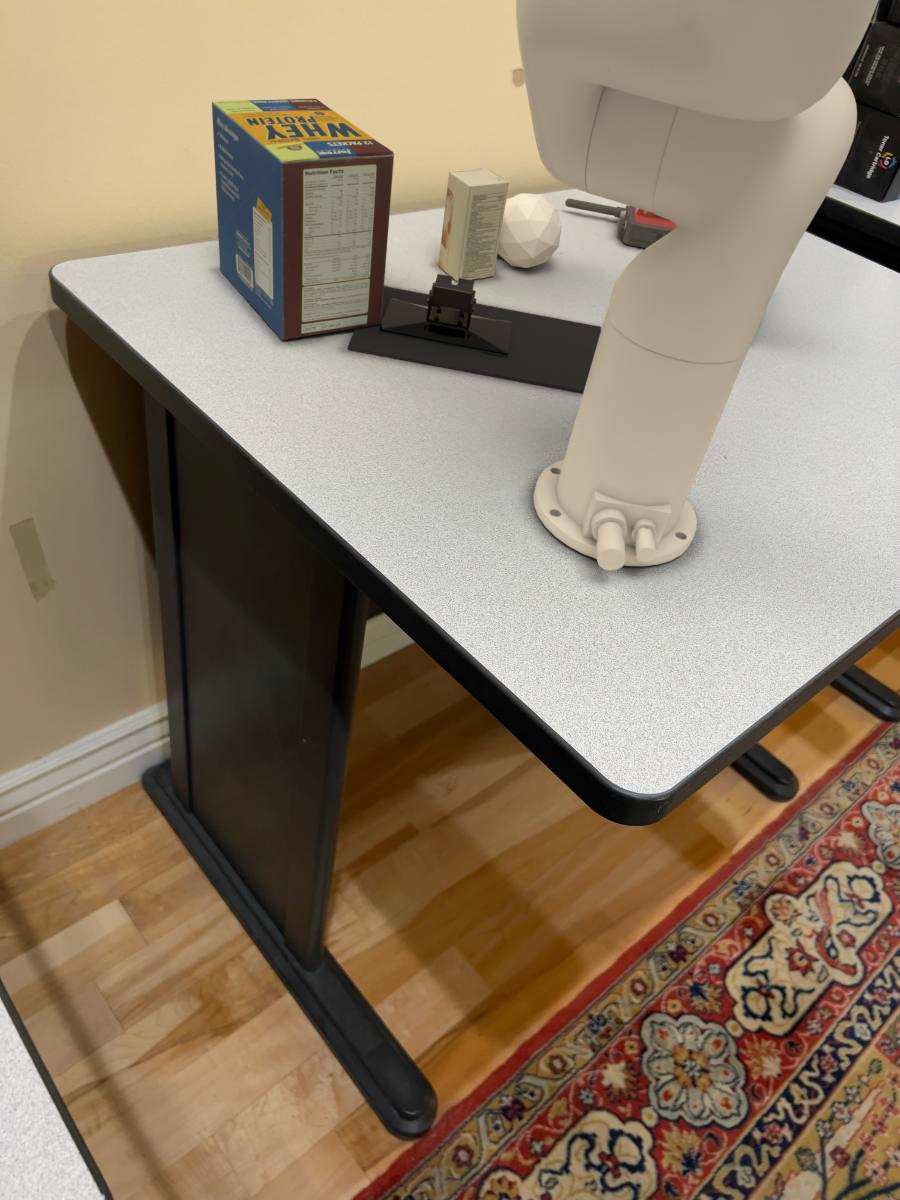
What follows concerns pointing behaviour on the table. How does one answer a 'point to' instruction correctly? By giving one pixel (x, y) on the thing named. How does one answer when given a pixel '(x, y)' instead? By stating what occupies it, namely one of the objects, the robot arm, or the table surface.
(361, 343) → the desk mat
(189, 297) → the table surface
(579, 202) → the walkie-talkie
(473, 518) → the table surface
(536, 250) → the geometric ball
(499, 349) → the build plate
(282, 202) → the protein box
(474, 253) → the printed cream carton
